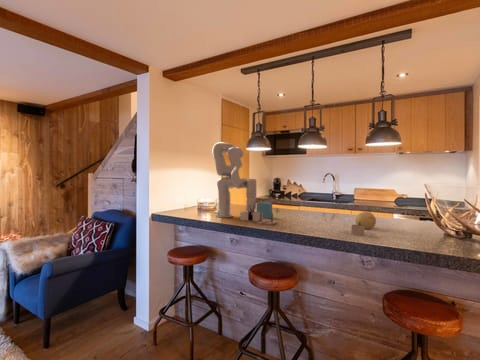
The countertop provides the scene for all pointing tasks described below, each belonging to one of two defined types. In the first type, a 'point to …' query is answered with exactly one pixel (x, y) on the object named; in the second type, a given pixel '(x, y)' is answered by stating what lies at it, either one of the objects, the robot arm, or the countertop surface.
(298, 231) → the countertop surface
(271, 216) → the post plate
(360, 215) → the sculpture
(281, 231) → the countertop surface
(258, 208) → the data package
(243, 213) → the power strip
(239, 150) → the robot arm
